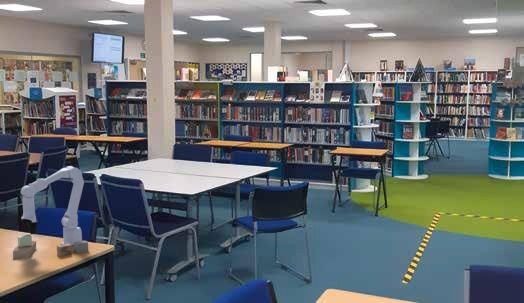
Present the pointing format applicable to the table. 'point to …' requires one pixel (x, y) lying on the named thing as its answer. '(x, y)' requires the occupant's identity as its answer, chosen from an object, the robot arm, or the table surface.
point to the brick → (24, 251)
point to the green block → (24, 240)
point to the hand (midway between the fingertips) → (30, 232)
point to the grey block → (81, 246)
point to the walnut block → (64, 249)
